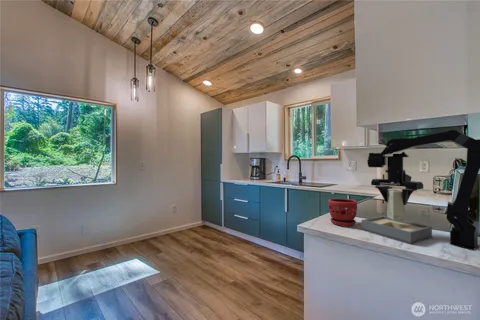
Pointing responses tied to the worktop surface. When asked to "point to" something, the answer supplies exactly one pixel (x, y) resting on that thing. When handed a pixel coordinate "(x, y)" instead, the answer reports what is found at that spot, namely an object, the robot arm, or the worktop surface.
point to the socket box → (397, 229)
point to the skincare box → (395, 205)
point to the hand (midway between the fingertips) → (395, 203)
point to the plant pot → (342, 211)
